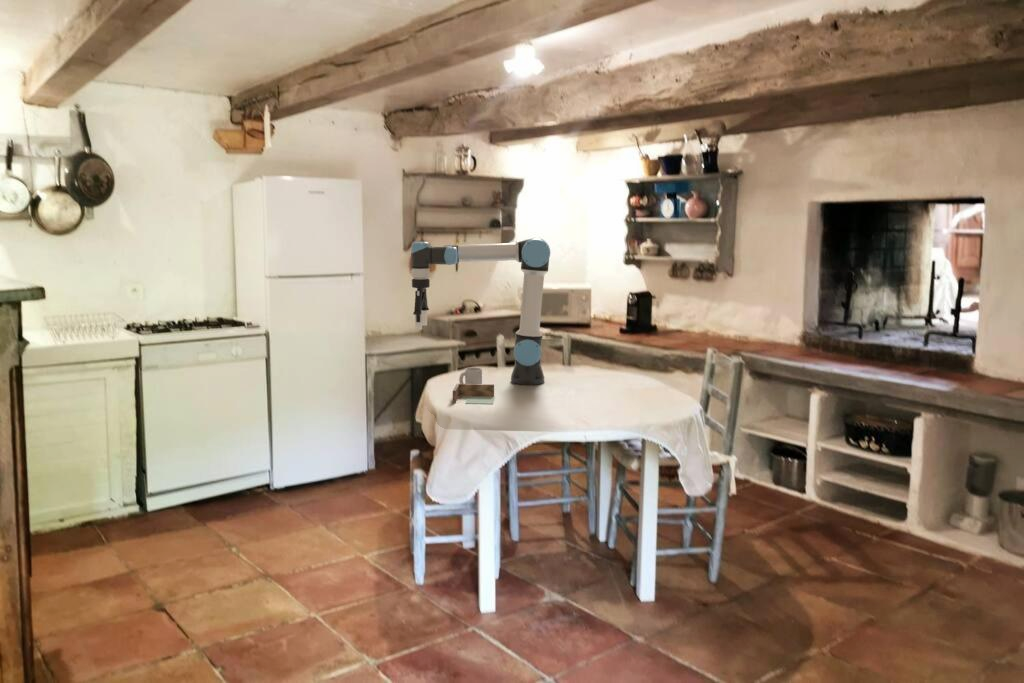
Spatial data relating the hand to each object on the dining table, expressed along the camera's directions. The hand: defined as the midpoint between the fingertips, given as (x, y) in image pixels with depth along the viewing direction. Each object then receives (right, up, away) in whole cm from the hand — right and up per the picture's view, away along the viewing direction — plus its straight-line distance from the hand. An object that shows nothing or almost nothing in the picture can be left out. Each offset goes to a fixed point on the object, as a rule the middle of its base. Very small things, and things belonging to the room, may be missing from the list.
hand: (421, 327), depth 342 cm
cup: (+21, -27, -2) cm, 34 cm away
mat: (+26, -30, -21) cm, 45 cm away
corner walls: (+24, -30, -20) cm, 43 cm away
